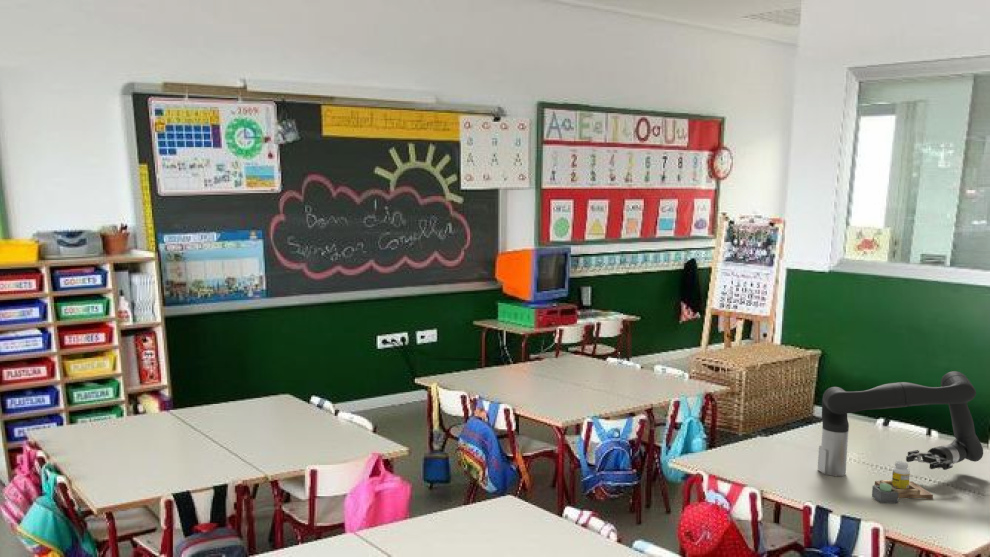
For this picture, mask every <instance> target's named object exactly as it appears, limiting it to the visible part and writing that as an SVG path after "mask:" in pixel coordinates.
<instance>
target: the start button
mask: <svg viewBox="0 0 990 557" xmlns="http://www.w3.org/2000/svg"><path fill="white" fill-rule="evenodd" d="M880 490H881V491H891V485H890V484H886V483H880Z"/></svg>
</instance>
